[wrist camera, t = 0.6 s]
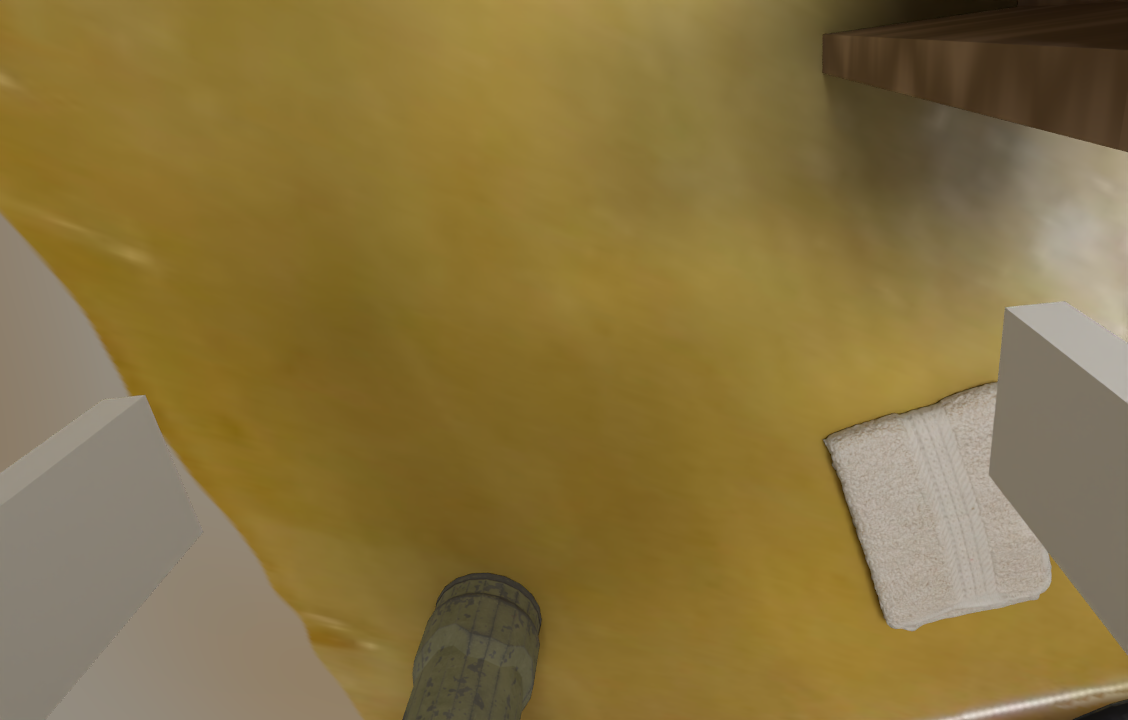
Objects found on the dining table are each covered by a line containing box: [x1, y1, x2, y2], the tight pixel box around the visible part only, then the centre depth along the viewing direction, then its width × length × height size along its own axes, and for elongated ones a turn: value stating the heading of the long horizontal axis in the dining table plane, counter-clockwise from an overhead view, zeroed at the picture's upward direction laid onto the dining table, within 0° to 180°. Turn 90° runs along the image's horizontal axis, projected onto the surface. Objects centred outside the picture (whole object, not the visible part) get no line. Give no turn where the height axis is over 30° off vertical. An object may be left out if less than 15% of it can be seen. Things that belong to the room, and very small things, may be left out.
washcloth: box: [824, 382, 1051, 631], centre depth 51 cm, size 12×18×3 cm, turn 24°
